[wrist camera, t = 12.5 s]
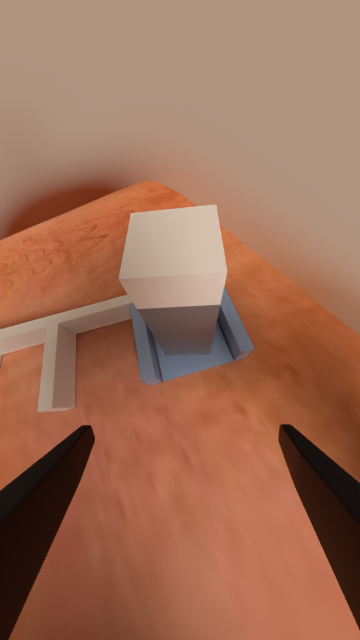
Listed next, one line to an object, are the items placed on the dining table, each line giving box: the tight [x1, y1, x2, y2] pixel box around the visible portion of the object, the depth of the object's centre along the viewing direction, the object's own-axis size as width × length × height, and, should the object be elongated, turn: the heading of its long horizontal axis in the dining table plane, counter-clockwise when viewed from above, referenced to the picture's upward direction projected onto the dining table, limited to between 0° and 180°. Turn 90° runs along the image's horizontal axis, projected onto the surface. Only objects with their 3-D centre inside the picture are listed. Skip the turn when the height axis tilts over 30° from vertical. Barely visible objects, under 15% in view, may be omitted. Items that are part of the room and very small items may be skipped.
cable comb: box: [0, 287, 255, 412], centre depth 18 cm, size 27×9×3 cm, turn 105°
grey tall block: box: [118, 205, 227, 355], centre depth 13 cm, size 4×4×12 cm
